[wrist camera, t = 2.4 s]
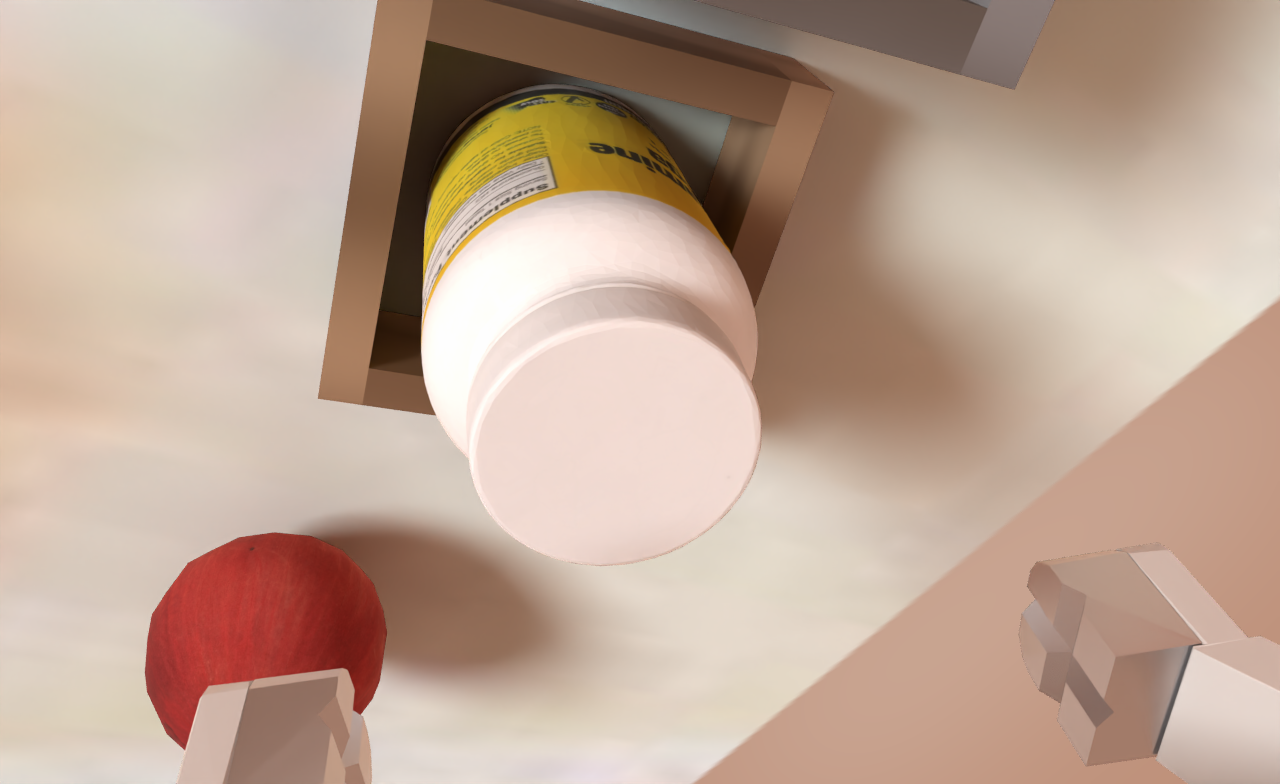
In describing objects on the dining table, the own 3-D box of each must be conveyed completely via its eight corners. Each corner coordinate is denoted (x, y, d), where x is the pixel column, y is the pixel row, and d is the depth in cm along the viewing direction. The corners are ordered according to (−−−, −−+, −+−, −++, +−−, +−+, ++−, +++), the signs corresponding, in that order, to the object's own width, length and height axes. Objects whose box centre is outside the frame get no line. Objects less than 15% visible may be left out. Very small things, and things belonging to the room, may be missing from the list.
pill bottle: (721, 219, 26) (878, 468, 17) (532, 356, 27) (582, 659, 18) (577, 18, 23) (674, 189, 14) (369, 182, 24) (329, 442, 15)
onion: (374, 635, 31) (358, 871, 25) (173, 619, 30) (98, 867, 23) (404, 485, 29) (396, 704, 22) (186, 458, 27) (104, 686, 20)
